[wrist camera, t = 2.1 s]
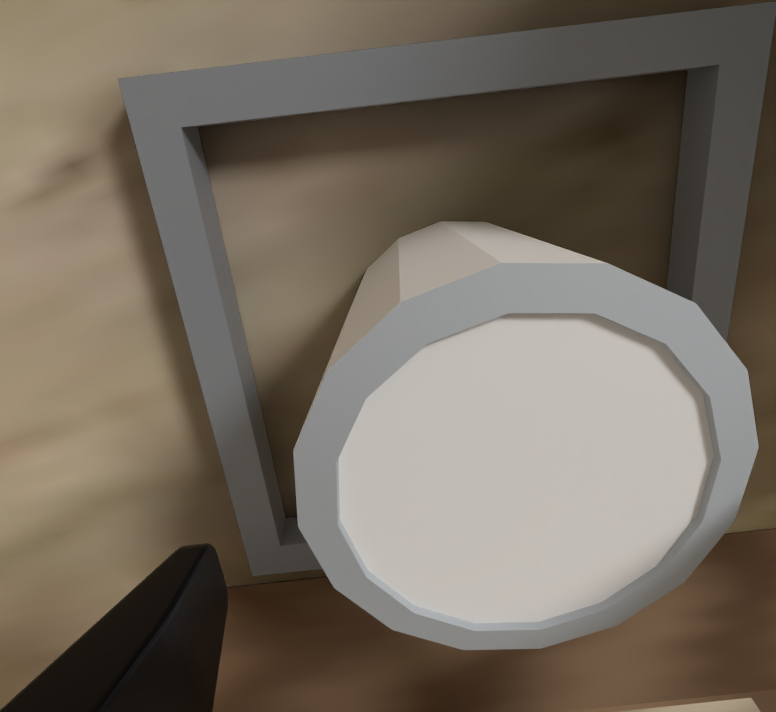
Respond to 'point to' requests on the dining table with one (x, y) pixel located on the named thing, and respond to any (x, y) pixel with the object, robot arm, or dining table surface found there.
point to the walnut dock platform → (512, 652)
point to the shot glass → (518, 441)
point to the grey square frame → (420, 83)
